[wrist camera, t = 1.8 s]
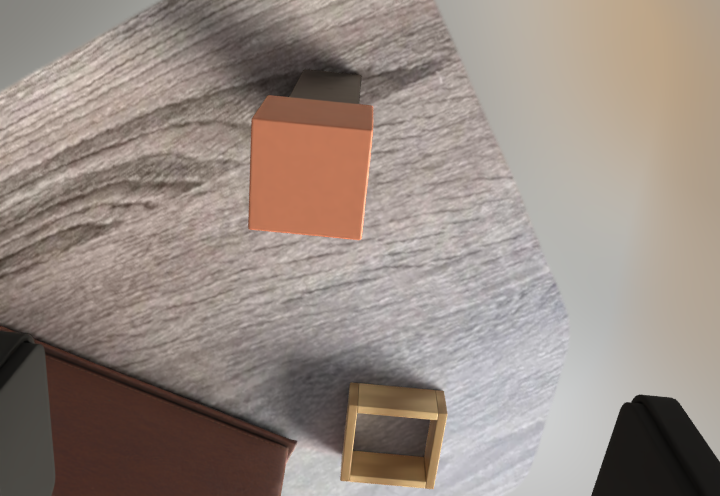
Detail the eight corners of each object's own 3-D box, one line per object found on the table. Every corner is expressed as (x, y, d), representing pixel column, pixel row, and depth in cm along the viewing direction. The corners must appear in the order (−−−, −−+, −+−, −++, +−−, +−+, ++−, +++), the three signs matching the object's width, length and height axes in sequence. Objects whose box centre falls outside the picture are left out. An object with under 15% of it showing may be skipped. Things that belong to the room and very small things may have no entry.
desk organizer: (243, 537, 52) (211, 685, 42) (-151, 393, 47) (-298, 521, 37) (299, 439, 48) (279, 576, 38) (-125, 271, 43) (-282, 376, 33)
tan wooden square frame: (444, 390, 46) (447, 413, 44) (430, 463, 49) (433, 489, 47) (350, 381, 46) (348, 404, 44) (341, 455, 49) (340, 481, 46)
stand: (361, 74, 38) (357, 118, 28) (356, 131, 39) (350, 190, 30) (303, 68, 37) (280, 110, 28) (300, 125, 39) (277, 183, 30)
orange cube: (373, 105, 28) (373, 129, 25) (362, 204, 30) (361, 241, 26) (267, 94, 28) (251, 117, 24) (263, 194, 30) (247, 230, 26)
